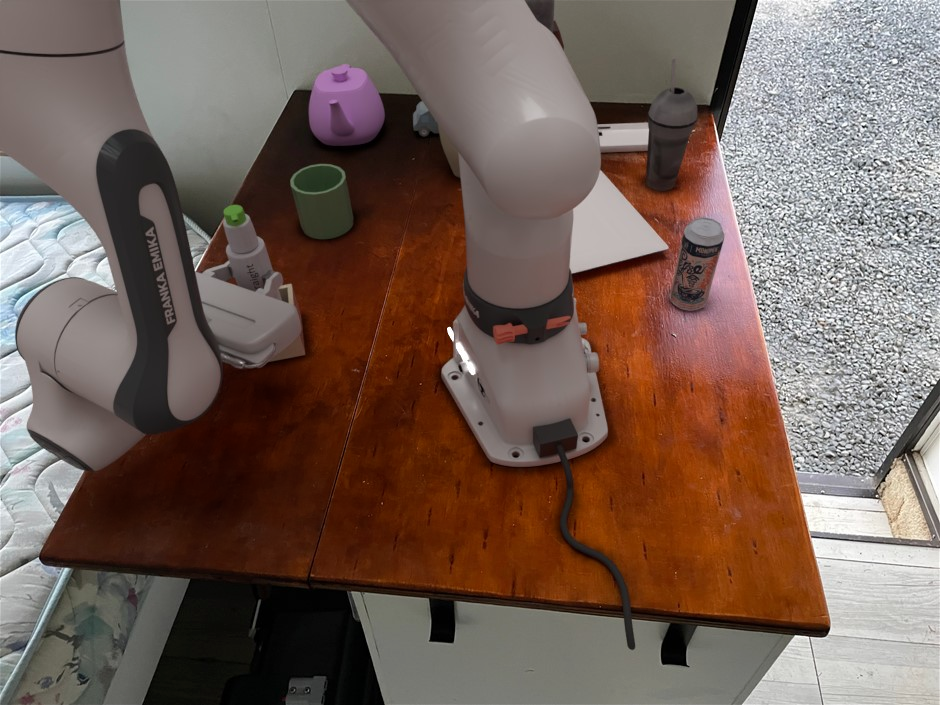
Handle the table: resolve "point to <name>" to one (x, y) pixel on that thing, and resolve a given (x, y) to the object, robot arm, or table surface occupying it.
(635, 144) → the phone case
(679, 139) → the beverage cup
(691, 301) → the beer can
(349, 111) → the teapot
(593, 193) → the plate
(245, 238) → the bottle
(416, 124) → the toy car
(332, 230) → the green cup
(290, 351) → the ivory holder
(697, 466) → the table surface
